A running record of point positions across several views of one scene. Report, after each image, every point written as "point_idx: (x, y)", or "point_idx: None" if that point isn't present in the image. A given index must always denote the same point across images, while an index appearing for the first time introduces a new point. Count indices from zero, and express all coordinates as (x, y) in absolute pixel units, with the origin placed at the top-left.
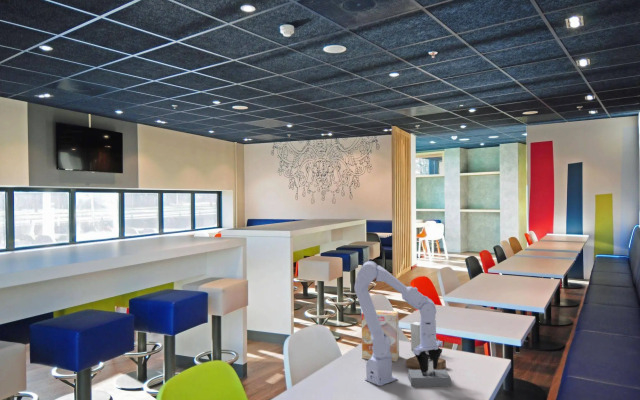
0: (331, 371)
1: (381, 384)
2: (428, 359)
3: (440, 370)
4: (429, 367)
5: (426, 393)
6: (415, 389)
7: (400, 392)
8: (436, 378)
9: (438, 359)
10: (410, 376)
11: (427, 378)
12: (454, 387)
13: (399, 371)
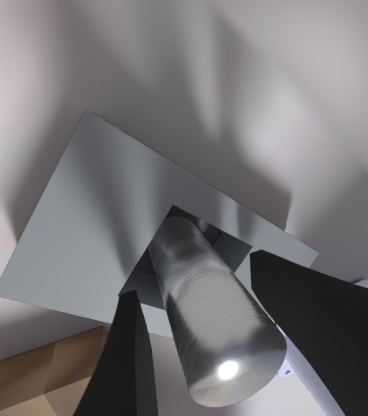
0: None
1: (364, 283)
2: (225, 385)
3: (58, 292)
4: (237, 279)
5: (299, 117)
6: (299, 191)
7: (363, 196)
8: (198, 179)
9: (93, 376)
10: None
11: (250, 210)
12: (79, 77)
13: None
